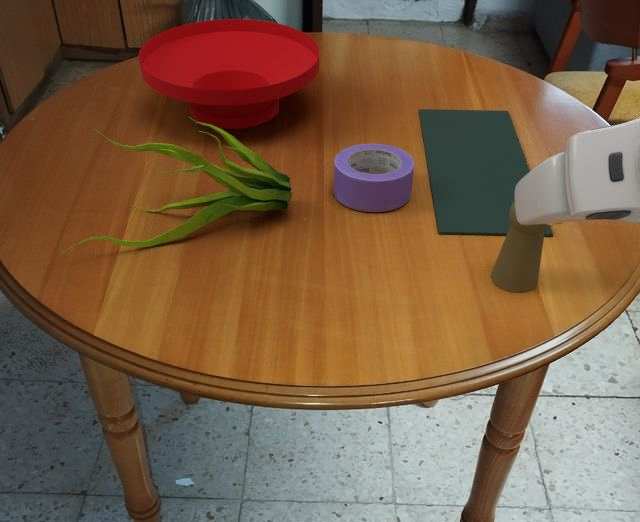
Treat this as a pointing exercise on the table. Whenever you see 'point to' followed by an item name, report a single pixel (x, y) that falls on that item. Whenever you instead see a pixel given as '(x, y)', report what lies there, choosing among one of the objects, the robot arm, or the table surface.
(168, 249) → the table surface
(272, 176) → the decorative plant
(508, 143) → the mat
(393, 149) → the tape roll
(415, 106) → the table surface
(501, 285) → the olive pawn piece
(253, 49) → the bowl
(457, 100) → the table surface
